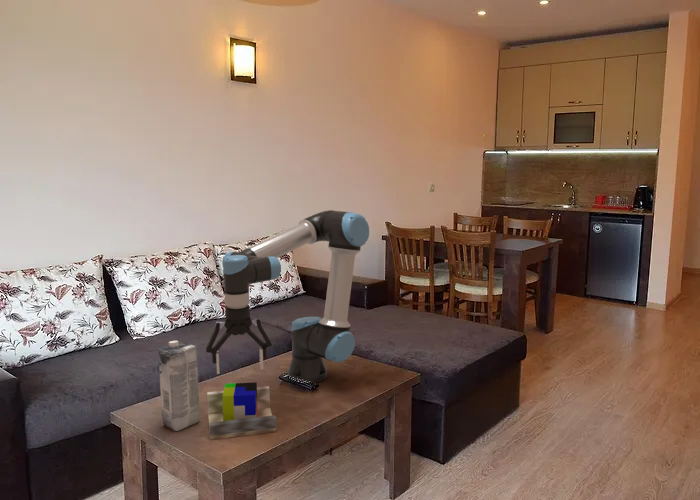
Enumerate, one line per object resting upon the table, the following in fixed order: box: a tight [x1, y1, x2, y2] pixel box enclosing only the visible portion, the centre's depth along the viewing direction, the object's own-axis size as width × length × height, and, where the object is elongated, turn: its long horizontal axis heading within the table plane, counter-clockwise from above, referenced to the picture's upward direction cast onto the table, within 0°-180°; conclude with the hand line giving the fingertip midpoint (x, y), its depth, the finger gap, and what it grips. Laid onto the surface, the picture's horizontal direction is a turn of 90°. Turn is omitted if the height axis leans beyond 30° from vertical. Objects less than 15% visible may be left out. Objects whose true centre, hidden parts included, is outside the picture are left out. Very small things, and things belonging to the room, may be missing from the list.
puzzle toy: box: [223, 381, 258, 421], centre depth 186 cm, size 10×10×10 cm
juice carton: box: [157, 340, 200, 432], centre depth 184 cm, size 9×10×27 cm
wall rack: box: [206, 385, 277, 440], centre depth 186 cm, size 20×17×8 cm
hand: (240, 370), depth 185 cm, fingers open, 13 cm apart
